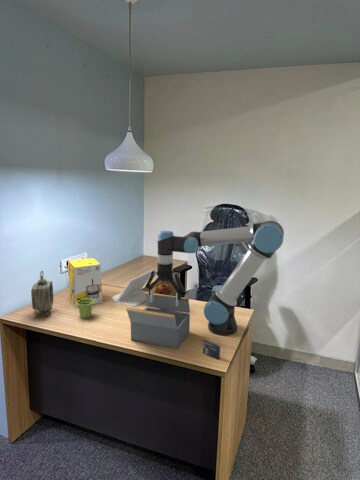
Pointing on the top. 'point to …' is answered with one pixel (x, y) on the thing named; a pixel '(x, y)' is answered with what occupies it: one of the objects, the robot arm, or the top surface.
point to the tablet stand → (133, 291)
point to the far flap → (168, 302)
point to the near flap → (152, 318)
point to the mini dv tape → (211, 349)
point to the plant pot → (85, 307)
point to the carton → (162, 331)
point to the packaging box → (85, 280)
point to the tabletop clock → (42, 295)
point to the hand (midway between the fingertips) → (164, 303)
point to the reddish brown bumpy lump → (162, 289)
